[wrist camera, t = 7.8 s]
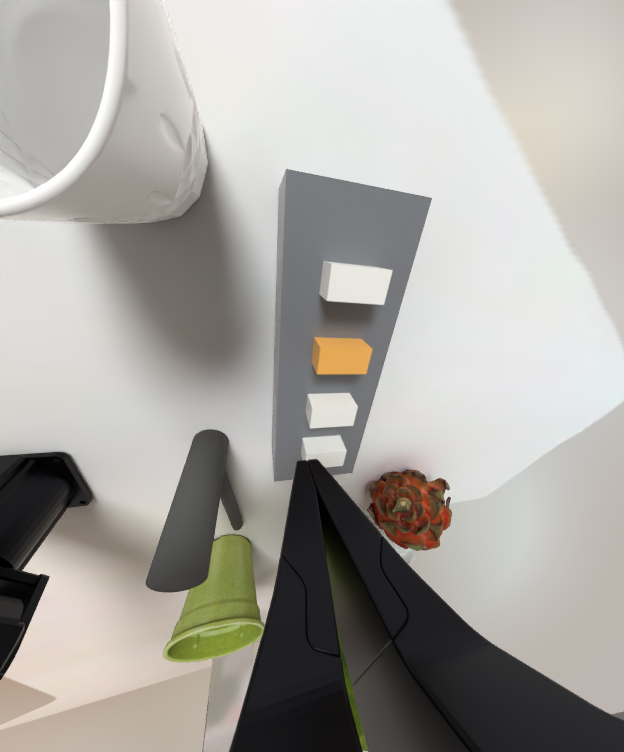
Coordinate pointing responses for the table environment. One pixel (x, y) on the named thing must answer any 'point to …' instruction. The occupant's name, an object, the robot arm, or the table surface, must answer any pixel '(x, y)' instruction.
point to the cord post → (191, 518)
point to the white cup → (95, 114)
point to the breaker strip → (335, 311)
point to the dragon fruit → (410, 509)
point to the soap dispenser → (226, 698)
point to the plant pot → (219, 607)
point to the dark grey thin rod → (230, 504)
